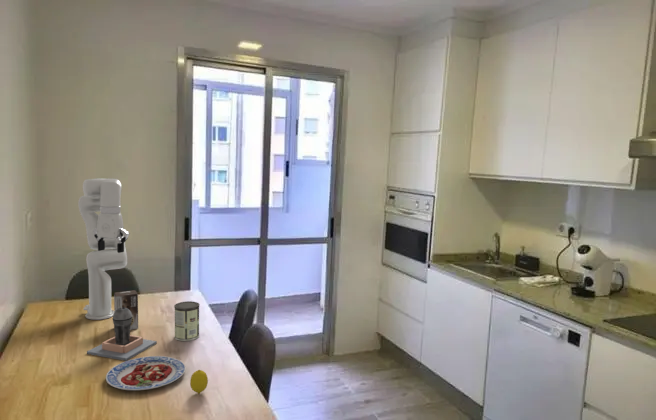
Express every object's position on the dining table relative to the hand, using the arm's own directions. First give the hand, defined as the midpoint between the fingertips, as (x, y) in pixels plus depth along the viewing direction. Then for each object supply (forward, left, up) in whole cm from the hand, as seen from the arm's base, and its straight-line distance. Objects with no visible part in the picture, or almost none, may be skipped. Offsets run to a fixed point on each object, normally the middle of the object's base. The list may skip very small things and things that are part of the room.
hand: (111, 251), depth 194 cm
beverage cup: (+14, -10, -36) cm, 39 cm away
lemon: (+61, -31, -36) cm, 78 cm away
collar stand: (+14, -10, -36) cm, 40 cm away
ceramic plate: (+38, -27, -37) cm, 59 cm away
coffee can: (+30, +10, -36) cm, 48 cm away
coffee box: (0, +9, -36) cm, 38 cm away
